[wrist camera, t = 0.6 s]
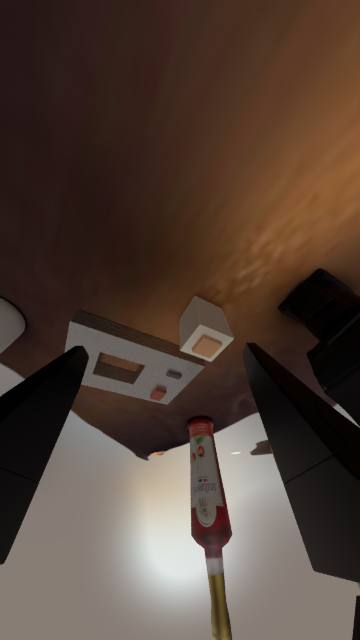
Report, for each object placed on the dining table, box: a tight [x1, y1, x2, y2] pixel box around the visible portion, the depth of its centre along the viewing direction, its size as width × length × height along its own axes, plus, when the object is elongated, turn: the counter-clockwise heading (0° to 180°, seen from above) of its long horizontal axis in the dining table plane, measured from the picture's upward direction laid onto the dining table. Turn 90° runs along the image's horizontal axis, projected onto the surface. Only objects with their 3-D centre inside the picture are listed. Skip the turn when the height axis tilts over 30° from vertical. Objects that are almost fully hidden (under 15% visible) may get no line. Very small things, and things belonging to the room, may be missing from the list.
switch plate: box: [65, 310, 205, 405], centre depth 28 cm, size 20×14×3 cm
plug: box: [179, 296, 234, 361], centre depth 21 cm, size 4×4×7 cm
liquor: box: [188, 417, 232, 640], centre depth 34 cm, size 7×7×28 cm
